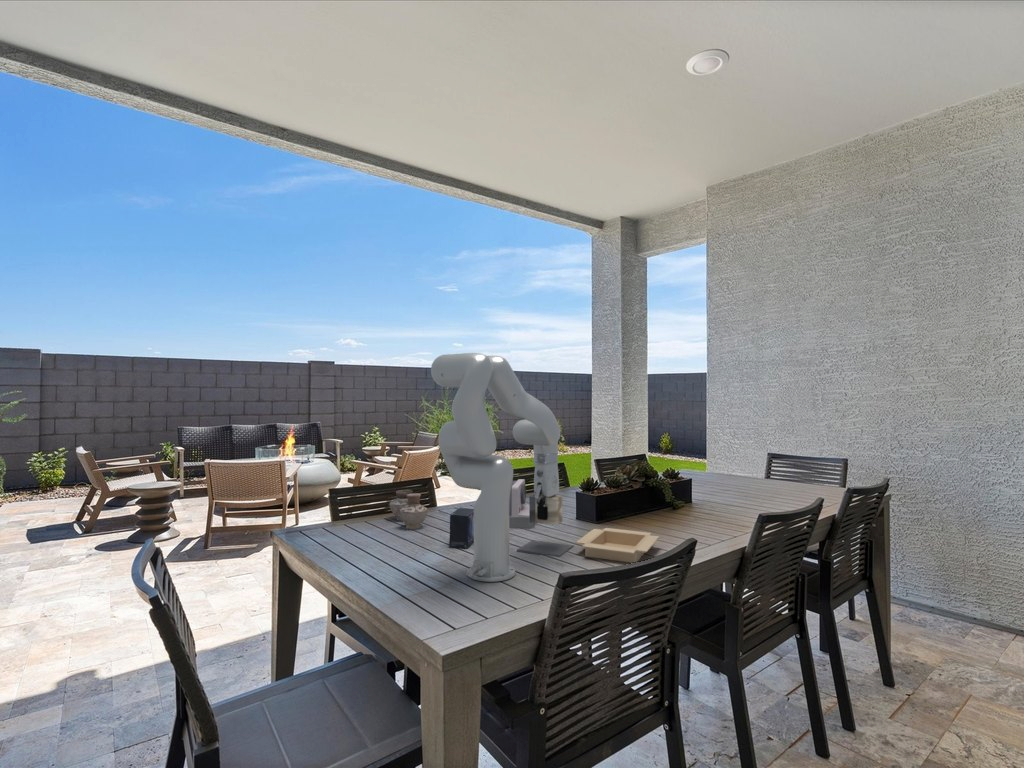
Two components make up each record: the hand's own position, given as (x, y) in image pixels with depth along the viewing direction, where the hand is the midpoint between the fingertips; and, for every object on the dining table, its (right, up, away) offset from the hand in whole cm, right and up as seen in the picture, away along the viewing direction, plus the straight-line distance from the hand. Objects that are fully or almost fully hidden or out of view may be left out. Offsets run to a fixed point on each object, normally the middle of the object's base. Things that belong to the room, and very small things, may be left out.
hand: (546, 516), depth 167 cm
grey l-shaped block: (-11, -11, +36) cm, 39 cm away
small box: (-26, -10, +6) cm, 29 cm away
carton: (+22, -10, -3) cm, 24 cm away
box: (0, -2, 0) cm, 2 cm away
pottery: (-49, -11, +34) cm, 61 cm away
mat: (0, -10, 0) cm, 10 cm away
